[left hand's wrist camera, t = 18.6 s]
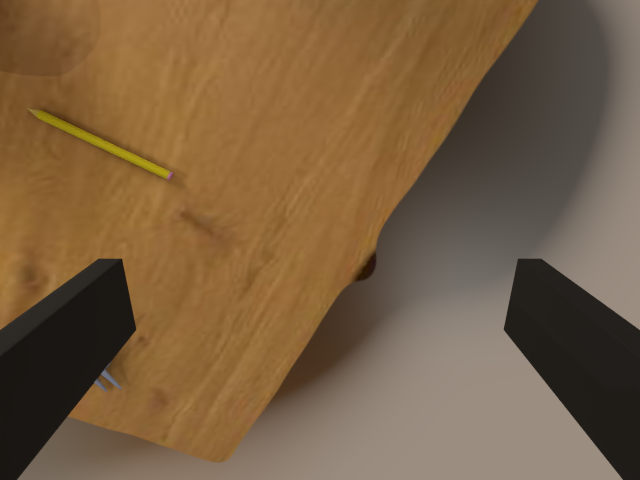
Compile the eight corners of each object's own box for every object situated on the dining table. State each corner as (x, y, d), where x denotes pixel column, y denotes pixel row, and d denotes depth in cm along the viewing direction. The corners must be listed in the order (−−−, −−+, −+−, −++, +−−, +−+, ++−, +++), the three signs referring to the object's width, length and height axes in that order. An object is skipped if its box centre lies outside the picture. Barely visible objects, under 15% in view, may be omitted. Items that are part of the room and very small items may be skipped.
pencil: (174, 171, 44) (170, 173, 43) (171, 179, 44) (168, 181, 43) (30, 103, 41) (23, 103, 40) (28, 111, 41) (21, 112, 40)
